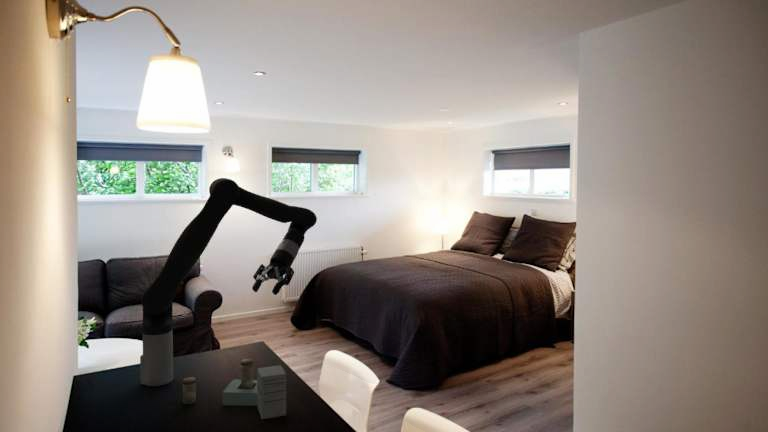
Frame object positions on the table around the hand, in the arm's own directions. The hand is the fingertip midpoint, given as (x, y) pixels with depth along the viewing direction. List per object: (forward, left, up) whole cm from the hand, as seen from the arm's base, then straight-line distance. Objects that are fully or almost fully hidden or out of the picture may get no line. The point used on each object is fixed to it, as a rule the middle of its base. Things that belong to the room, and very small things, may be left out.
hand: (264, 292), depth 164 cm
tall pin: (-1, -15, -31) cm, 34 cm away
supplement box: (+9, -24, -31) cm, 40 cm away
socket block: (-1, -15, -31) cm, 34 cm away
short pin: (-18, -18, -31) cm, 40 cm away
